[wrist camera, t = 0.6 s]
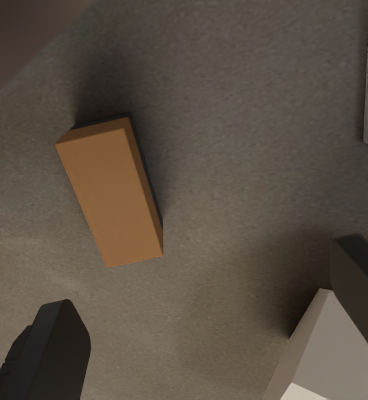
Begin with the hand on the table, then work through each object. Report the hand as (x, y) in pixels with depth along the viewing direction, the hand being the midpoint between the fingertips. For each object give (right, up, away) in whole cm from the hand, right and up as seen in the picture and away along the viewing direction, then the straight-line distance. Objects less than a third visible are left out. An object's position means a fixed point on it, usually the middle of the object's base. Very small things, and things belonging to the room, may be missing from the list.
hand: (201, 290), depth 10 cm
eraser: (-5, +4, +14) cm, 15 cm away
